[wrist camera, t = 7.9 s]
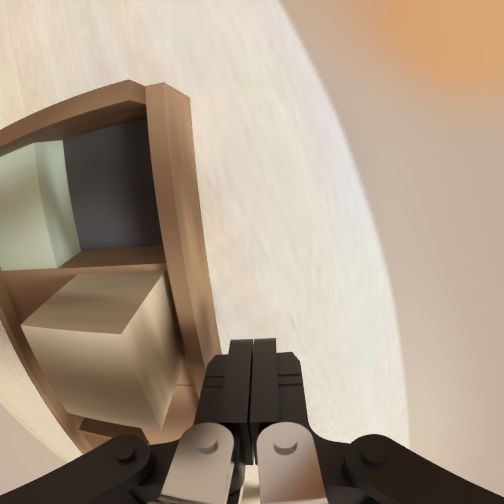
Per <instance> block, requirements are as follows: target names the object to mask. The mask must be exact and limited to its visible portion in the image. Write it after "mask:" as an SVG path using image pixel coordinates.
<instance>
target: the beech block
mask: <svg viewBox="0 0 504 504" xmlns="http://www.w3.org/2000/svg"><path fill="white" fill-rule="evenodd" d="M21 328H22V330H23V332H24V334H25V337H26V339H27V341H28V343H29V345H30V347H31V349H32V351H33V353H34V355H35V357H36V359H37V361H38V363H39V365H40V367H41V369H42V371H43V373H44V375H45V376H46V378H47V380H48V382H49V383H50V385H51V387H52V389H53V390H54V392H55V394H56V395H57V397H58V399H59V400H60V402H61V403H62V405H63V407H64V408H65V410H66V411H67V413H71V414H75V415H79V416H83V417H87V418H91V419H96V420H100V421H105V422H110V423H115V424H121V425H126V426H132V427H139V428H146V429H153V430H162V427H163V424H164V421H165V417H166V414H167V411H168V408H169V405H170V402H171V399H172V396H173V393H174V390H175V387H176V383H177V380H178V377H179V374H180V371H181V368H182V365H183V362H184V359H185V354H184V350H183V346H182V342H181V338H180V334H179V330H178V326H177V322H176V317H175V313H174V309H173V304H172V299H171V295H170V290H169V285H168V280H167V275H166V270H163V271H141V272H117V273H92V274H78V275H76V276H75V277H74V278H73V279H72V280H70V281H69V282H68V283H67V284H66V285H65V286H63V287H62V288H61V289H60V290H59V291H57V292H56V293H55V294H54V295H53V296H52V297H51V298H49V299H48V300H47V301H46V302H45V303H44V304H43V305H42V306H40V307H39V308H38V309H37V310H36V311H35V312H34V313H33V314H32V315H30V316H29V317H28V318H27V319H26V320H25V321H24V322H23V323H22V324H21Z"/></svg>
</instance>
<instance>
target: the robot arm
mask: <svg viewBox="0 0 504 504" xmlns="http://www.w3.org/2000/svg"><path fill="white" fill-rule="evenodd" d="M254 457H255V464H256V465H258V473H259V487H260V502H261V504H504V497H502V496H500V495H497V494H495V493H493V492H491V491H488V490H486V489H484V488H482V487H480V486H478V485H475V484H473V483H471V482H469V481H467V480H465V479H463V478H461V477H459V476H457V475H455V474H453V473H451V472H449V471H447V470H445V469H443V468H442V467H440V466H438V465H436V464H434V463H432V462H430V461H429V460H427V459H425V458H423V457H421V456H419V455H418V454H416V453H414V452H412V451H411V450H409V449H407V448H405V447H404V446H402V445H400V444H399V443H397V442H395V441H393V440H392V439H390V438H388V437H386V436H383V435H378V434H370V435H365V436H362V437H359V438H357V439H356V440H354V441H353V442H352V443H351V444H349V443H341V442H334V441H329V440H326V439H323V438H321V437H319V436H318V435H317V434H315V433H314V432H313V430H312V429H311V428H310V425H309V423H308V417H307V409H306V401H305V394H304V387H303V379H302V372H301V365H300V361H299V360H298V359H297V357H296V356H295V355H294V354H293V352H284V353H276V338H267V339H254V345H253V339H241V340H231V341H230V347H229V353H228V354H226V355H215V356H214V357H213V358H212V360H211V361H210V362H209V363H208V364H207V368H206V372H205V378H204V380H203V385H202V389H201V393H200V398H199V402H198V406H197V411H196V415H195V419H194V423H193V426H192V427H190V428H188V429H187V430H186V431H185V432H184V433H183V434H182V436H181V438H179V439H178V440H175V441H172V442H167V443H160V444H153V445H147V443H146V442H145V441H144V440H143V439H142V438H140V437H138V436H135V435H130V434H124V435H119V436H116V437H114V438H112V439H110V440H108V441H107V442H105V443H103V444H101V445H100V446H98V447H96V448H94V449H93V450H91V451H89V452H87V453H86V454H84V455H82V456H80V457H78V458H77V459H75V460H73V461H71V462H69V463H67V464H65V465H63V466H62V467H60V468H58V469H56V470H54V471H52V472H50V473H48V474H46V475H44V476H42V477H40V478H38V479H36V480H34V481H32V482H30V483H27V484H25V485H23V486H21V487H19V488H16V489H14V490H12V491H10V492H8V493H5V494H3V495H0V504H241V501H242V495H243V488H244V478H245V465H253V461H254Z"/></svg>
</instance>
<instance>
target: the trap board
mask: <svg viewBox="0 0 504 504" xmlns="http://www.w3.org/2000/svg"><path fill="white" fill-rule="evenodd" d="M163 270H166V275H167V280H168V285H169V290H170V295H171V299H172V304H173V309H174V313H175V317H176V322H177V326H178V330H179V334H180V338H181V342H182V346H183V350H184V354H185V359H184V362H183V365H182V368H181V371H180V374H179V377H178V380H177V383H176V387H175V390H174V393H173V396H172V399H171V402H170V405H169V408H168V411H167V414H166V417H165V421H164V424H163V427H162V430H153V429H146V428H139V427H132V426H126V425H121V424H115V423H110V422H105V421H100V420H96V419H91V418H87V417H83V416H79V415H75V414H71V413H67V411H66V410H65V408H64V407H63V405H62V403H61V402H60V400H59V399H58V397H57V395H56V394H55V392H54V390H53V389H52V387H51V385H50V383H49V382H48V380H47V378H46V376H45V375H44V373H43V371H42V369H41V367H40V365H39V363H38V361H37V359H36V357H35V355H34V353H33V351H32V349H31V347H30V345H29V343H28V341H27V339H26V337H25V334H24V332H23V330H22V328H21V324H22V323H23V322H24V321H25V320H26V319H27V318H28V317H29V316H30V315H32V314H33V313H34V312H35V311H36V310H37V309H38V308H39V307H40V306H42V305H43V304H44V303H45V302H46V301H47V300H48V299H49V298H51V297H52V296H53V295H54V294H55V293H56V292H57V291H59V290H60V289H61V288H62V287H63V286H65V285H66V284H67V283H68V282H69V281H70V280H72V279H73V278H74V277H75V276H76V275H78V274H92V273H117V272H141V271H163ZM0 319H1V321H2V324H3V326H4V328H5V330H6V333H7V335H8V337H9V339H10V341H11V343H12V345H13V347H14V349H15V351H16V353H17V355H18V357H19V359H20V361H21V363H22V365H23V367H24V368H25V370H26V372H27V374H28V376H29V377H30V379H31V381H32V383H33V384H34V386H35V388H36V389H37V391H38V393H39V394H40V396H41V397H42V399H43V400H44V402H45V404H46V405H47V407H48V408H49V410H50V411H51V413H52V414H53V415H54V417H55V418H56V420H57V421H58V423H59V424H60V425H61V427H62V428H63V429H64V431H65V432H66V434H67V435H68V436H69V437H70V439H71V440H72V441H73V443H74V444H75V445H76V446H77V448H78V449H79V450H80V451H81V453H82V454H83V455H84V454H86V453H87V452H89V451H91V450H93V449H94V448H96V447H98V446H100V445H101V444H103V443H105V442H107V441H108V440H110V439H112V438H114V437H116V436H119V435H124V434H130V435H135V436H138V437H140V438H142V439H143V440H144V441H145V442H146V443H147V445H153V444H160V443H167V442H172V441H175V440H178V439H179V438H181V436H182V434H183V433H184V432H185V431H186V430H187V429H188V428H190V427H192V426H193V423H194V419H195V415H196V411H197V406H198V402H199V398H200V393H201V389H202V385H203V380H204V378H205V372H206V368H207V364H208V363H209V362H210V361H211V360H212V358H213V357H214V356H215V355H222V353H221V347H220V342H219V336H218V330H217V324H216V317H215V311H214V305H213V298H212V292H211V285H210V278H209V271H208V264H207V257H206V250H205V242H204V235H203V227H202V219H201V210H200V202H199V193H198V184H197V175H196V165H195V155H194V145H193V134H192V122H191V110H190V98H189V97H188V96H186V95H184V94H183V93H181V92H179V91H178V90H176V89H174V88H173V87H171V86H169V85H167V84H166V83H164V82H163V83H158V84H154V85H149V86H143V85H141V84H138V83H136V82H134V81H131V80H125V81H122V82H118V83H115V84H111V85H108V86H105V87H102V88H98V89H95V90H92V91H89V92H86V93H84V94H81V95H78V96H75V97H72V98H70V99H67V100H65V101H62V102H59V103H57V104H54V105H52V106H50V107H47V108H45V109H43V110H40V111H38V112H36V113H34V114H31V115H29V116H27V117H25V118H23V119H21V120H19V121H17V122H15V123H13V124H11V125H9V126H7V127H5V128H3V129H1V130H0Z"/></svg>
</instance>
